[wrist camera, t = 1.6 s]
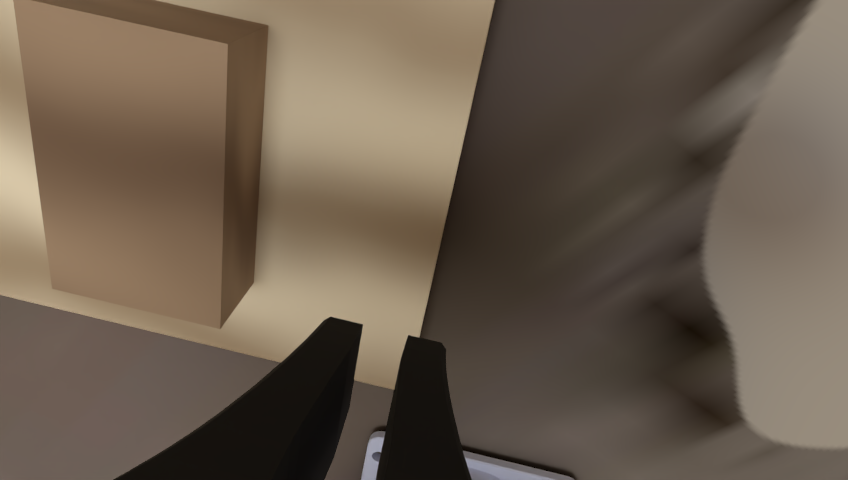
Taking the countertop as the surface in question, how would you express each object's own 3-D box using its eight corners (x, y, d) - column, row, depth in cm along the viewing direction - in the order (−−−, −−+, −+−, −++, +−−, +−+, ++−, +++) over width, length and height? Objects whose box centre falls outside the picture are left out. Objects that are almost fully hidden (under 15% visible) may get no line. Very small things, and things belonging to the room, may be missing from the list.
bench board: (412, 370, 22) (406, 393, 21) (-221, 218, 23) (-257, 232, 22) (509, -61, 15) (507, -58, 14) (-394, -252, 16) (-458, -263, 15)
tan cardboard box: (253, 282, 20) (220, 329, 18) (103, 247, 20) (51, 288, 18) (268, 25, 16) (228, 44, 14) (81, -16, 16) (12, -4, 14)
